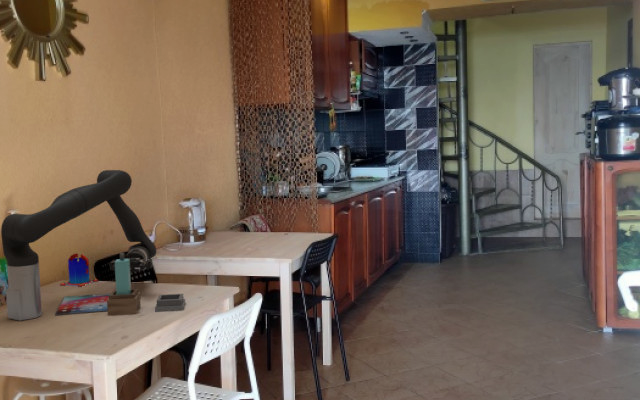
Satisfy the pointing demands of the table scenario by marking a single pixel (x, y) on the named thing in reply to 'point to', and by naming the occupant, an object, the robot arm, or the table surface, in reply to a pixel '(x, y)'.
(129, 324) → the table surface
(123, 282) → the plug block
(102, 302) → the tablet
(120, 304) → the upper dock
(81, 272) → the fantasy tower
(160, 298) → the lower dock
